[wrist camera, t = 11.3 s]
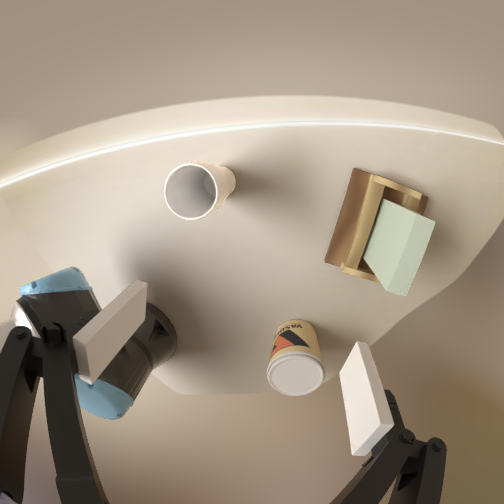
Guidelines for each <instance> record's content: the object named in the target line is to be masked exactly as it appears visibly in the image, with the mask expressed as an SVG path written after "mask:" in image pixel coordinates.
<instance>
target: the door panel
mask: <svg viewBox="0 0 504 504" xmlns="http://www.w3.org/2000/svg"><path fill="white" fill-rule="evenodd" d="M435 223H436V222H435V221H433V220H431V219H429V218H427V217H425V216H423V215H421V214H418V213H416V212H414V211H412V210H410V209H408V208H405V207H403V206H401V205H399V204H397V203H394V202H391V201H389V200H386V199H383V198H381V201H380V204H379V207H378V210H377V213H376V216H375V219H374V222H373V225H372V228H371V231H370V234H369V237H368V240H367V243H366V245H365V248H364V251H363V254H362V257H363V258H364V260H365V261H366V262H367V264H368V265H369V267H370V268H371V270H372V271H373V272H374V274H375V275H376V277H377V278H378V280H379V281H380V283H381V284H382V285H383V287H384V288H385V290H386V291H387V292H390V293H394V294H398V295H401V296H405V297H406V295H407V293H408V291H409V289H410V287H411V284H412V282H413V280H414V277H415V275H416V273H417V270H418V268H419V266H420V263H421V261H422V258H423V256H424V253H425V250H426V248H427V245H428V242H429V240H430V237H431V234H432V231H433V229H434V226H435Z"/></svg>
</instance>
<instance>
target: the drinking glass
mask: <svg viewBox="0 0 504 504" xmlns="http://www.w3.org/2000/svg"><path fill="white" fill-rule="evenodd" d="M235 185H236V180H235V176H234V174H233V172H232V171H231V170H230V169H228V168H227V167H224V166H218V165H214V164H211V163H206V162H191V163H186V164H182V165H180V166H178V167H176V168H175V169H174V170H173V171H172V172H171V173H170V174H169V176H168V177H167V179H166V182H165V186H164V196H165V200H166V203H167V205H168V207H169V208H170V210H171V211H172V212H173V213H174V214H175V215H177V216H178V217H180V218H182V219H185V220H198V219H201V218H204V217H206V216H208V215H209V214H211V213H213V212H214V211H215V210H216V209H218V208H219V207H220V206H221V205H222V203H223V202H224V201H225V199H226V198H227V197H228V196H229V195H230V194H231V193H232V192H233V190H234V188H235Z"/></svg>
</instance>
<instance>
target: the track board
mask: <svg viewBox="0 0 504 504" xmlns="http://www.w3.org/2000/svg"><path fill="white" fill-rule="evenodd" d="M381 198H383V199H386V200H389V201H391V202H394V203H397V204H399V205H401V206H403V207H405V208H408V209H410V210H412V211H414V212H416V213H418V214H421V215H423V212H424V209H425V206H426V203H427V200H428V197H426V196H424V195H422V194H421V193H419V192H417V191H415V190H412V189H410V188H407V187H405V186H403V185H400V184H398V183H395V182H393V181H390V180H388V179H385V178H382V177H380V176H377V175H373V174H369V173H367V172H364V171H361V170H358V169H355V168H353V172H352V175H351V179H350V182H349V186H348V189H347V192H346V196H345V199H344V202H343V205H342V209H341V212H340V215H339V218H338V221H337V224H336V227H335V231H334V234H333V237H332V240H331V243H330V246H329V248H328V251H327V254H326V257H325V263H329V264H332V265H336V266H339V267H341V269H342V272H343V273H347V274H350V275H354V276H357V277H361V278H365V279H368V280H372V281H375V282H379V283H380V281H379V280H378V278H377V277H376V275H375V274H374V272H373V271H372V270H371V268H370V267H369V265H368V264H367V262H366V261H365V260H364V258H363V257H362V254H363V251H364V248H365V245H366V243H367V240H368V237H369V234H370V231H371V228H372V225H373V222H374V219H375V216H376V213H377V210H378V207H379V204H380V201H381Z"/></svg>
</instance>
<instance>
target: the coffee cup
mask: <svg viewBox="0 0 504 504" xmlns="http://www.w3.org/2000/svg"><path fill="white" fill-rule="evenodd" d="M324 377H325V367H324V364H323V361H322V357H321V352H320V348H319V344H318V340H317V336H316V332H315V330H314V328H313V327H312V325H311V324H309V323H308V322H306V321H304V320H299V319H293V320H289V321H286V322H284V323H283V324H282V325H280V327H279V328H278V329H277V331H276V334H275V339H274V343H273V348H272V352H271V357H270V362H269V366H268V368H267V379H268V381H269V383H270V385H271V386H272V387H273V388H274V389H275V390H276V391H278V392H279V393H282V394H285V395H289V396H301V395H305V394H308V393H311V392H312V391H314V390H315V389H317V388H318V387H319V386H320V385H321V383H322V381H323V380H324Z"/></svg>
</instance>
